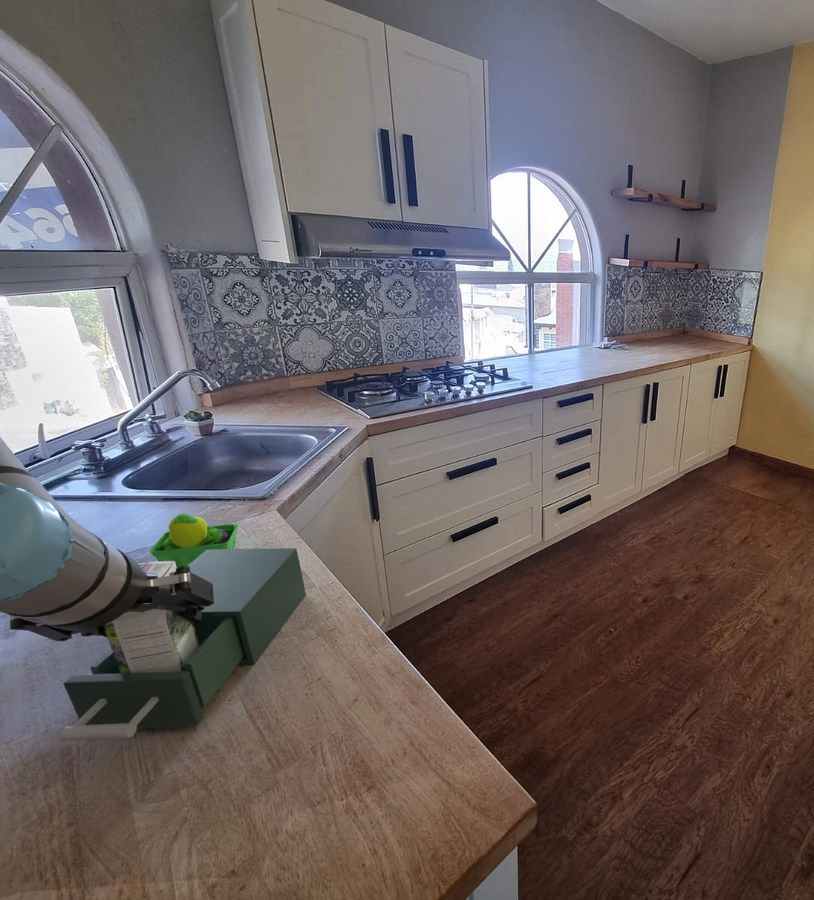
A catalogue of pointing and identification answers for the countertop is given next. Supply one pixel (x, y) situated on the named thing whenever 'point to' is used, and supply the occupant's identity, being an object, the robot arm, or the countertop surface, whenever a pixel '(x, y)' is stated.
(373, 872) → the countertop surface
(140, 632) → the syrup box
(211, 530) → the fruit basket
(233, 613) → the green drawer cabinet
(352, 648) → the countertop surface
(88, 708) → the green drawer
